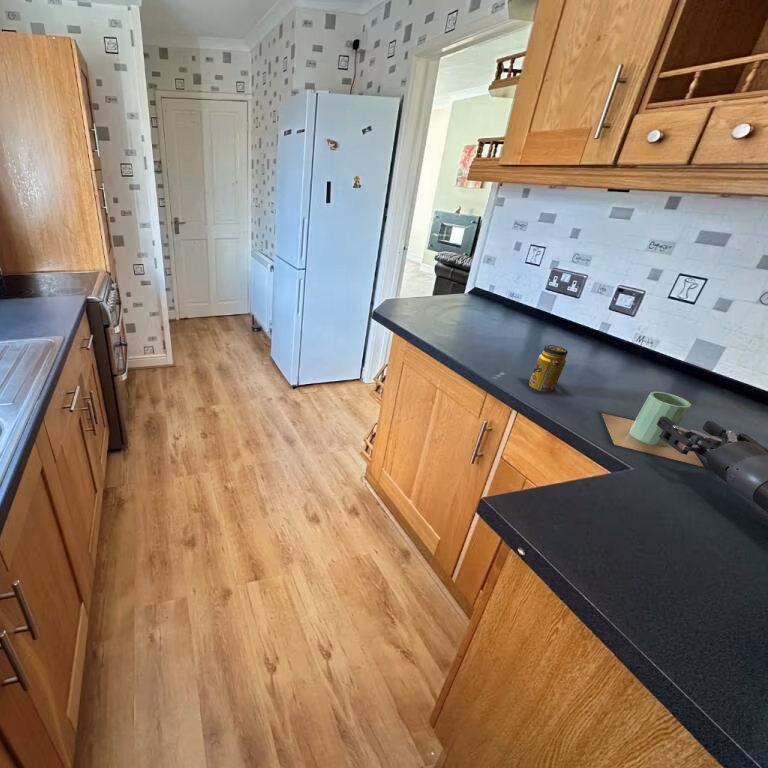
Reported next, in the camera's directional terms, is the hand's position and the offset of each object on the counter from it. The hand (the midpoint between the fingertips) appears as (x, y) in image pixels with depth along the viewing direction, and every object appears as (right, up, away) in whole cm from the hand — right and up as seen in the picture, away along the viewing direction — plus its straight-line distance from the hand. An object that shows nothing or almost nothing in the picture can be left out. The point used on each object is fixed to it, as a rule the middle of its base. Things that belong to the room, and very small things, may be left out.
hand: (683, 422), depth 85 cm
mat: (0, -5, +8) cm, 9 cm away
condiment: (-9, +6, +29) cm, 31 cm away
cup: (0, -4, +8) cm, 9 cm away
